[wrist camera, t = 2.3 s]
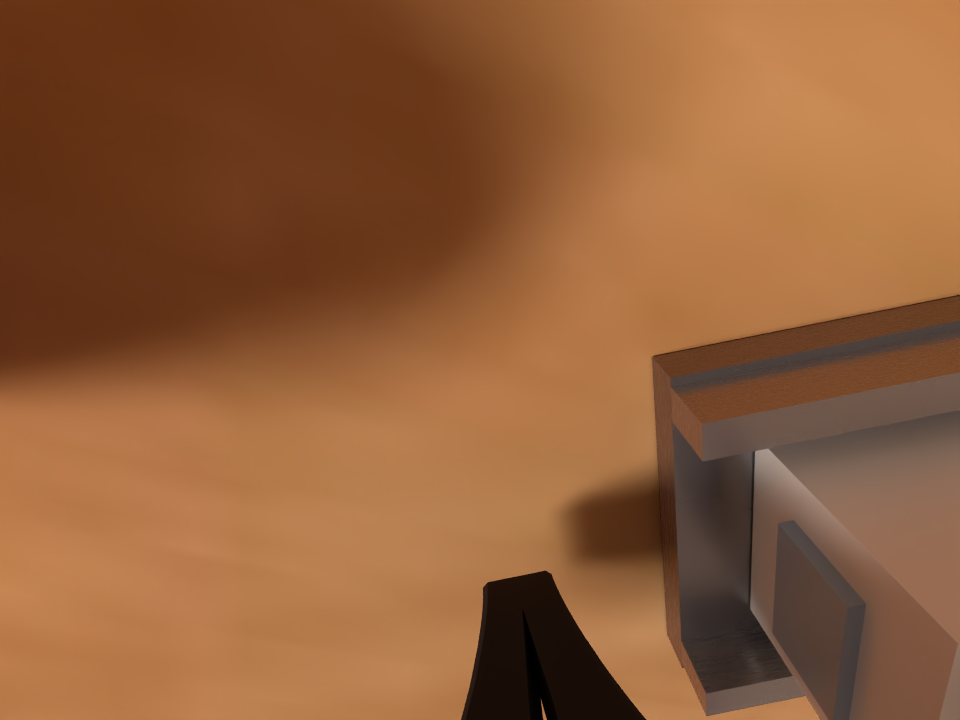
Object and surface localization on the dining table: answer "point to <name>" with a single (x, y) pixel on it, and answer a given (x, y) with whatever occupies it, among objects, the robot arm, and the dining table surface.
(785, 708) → the dining table surface
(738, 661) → the module housing
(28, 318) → the dining table surface
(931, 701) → the block
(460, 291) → the dining table surface
